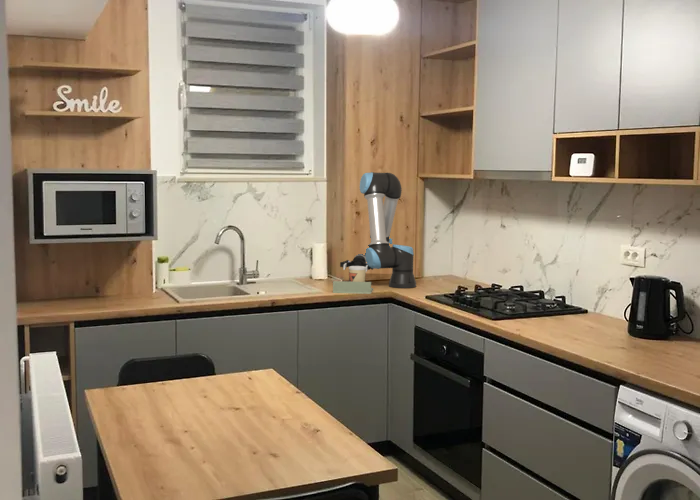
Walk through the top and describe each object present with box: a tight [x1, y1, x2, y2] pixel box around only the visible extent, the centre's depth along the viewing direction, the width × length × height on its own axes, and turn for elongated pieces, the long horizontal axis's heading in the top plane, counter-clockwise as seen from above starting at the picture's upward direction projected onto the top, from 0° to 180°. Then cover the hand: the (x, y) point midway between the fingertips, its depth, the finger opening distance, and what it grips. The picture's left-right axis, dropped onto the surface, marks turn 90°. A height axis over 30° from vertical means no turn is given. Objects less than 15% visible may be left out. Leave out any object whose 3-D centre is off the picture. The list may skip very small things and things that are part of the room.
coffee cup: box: [348, 266, 367, 282], centre depth 401 cm, size 9×9×12 cm
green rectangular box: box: [332, 280, 374, 295], centre depth 401 cm, size 20×14×6 cm
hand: (355, 268), depth 412 cm, fingers open, 11 cm apart
